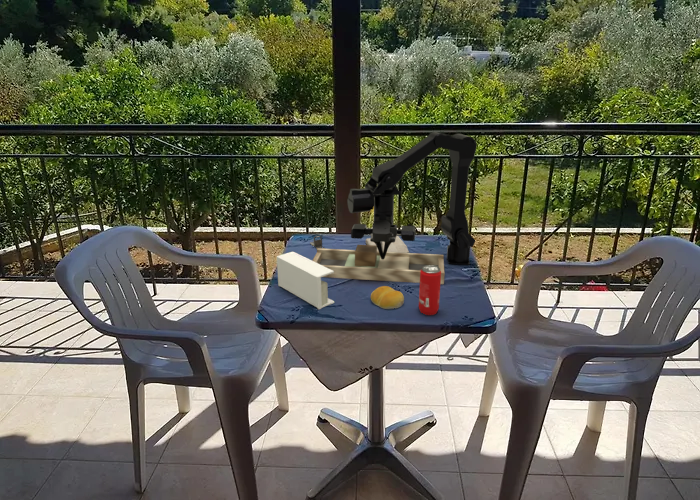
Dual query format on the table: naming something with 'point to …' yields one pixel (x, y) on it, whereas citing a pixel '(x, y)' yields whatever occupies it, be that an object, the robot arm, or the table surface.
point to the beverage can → (429, 289)
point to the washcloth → (392, 245)
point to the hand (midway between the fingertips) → (382, 258)
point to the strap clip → (317, 243)
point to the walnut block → (366, 255)
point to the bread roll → (387, 298)
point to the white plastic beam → (303, 278)
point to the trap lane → (378, 265)
